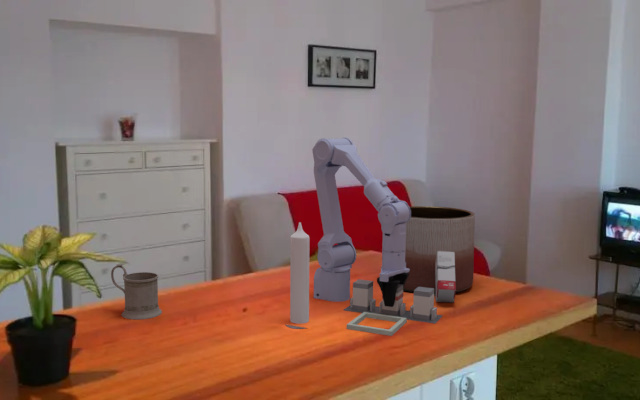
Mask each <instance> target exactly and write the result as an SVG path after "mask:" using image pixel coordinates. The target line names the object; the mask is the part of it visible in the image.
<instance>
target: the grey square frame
mask: <svg viewBox="0 0 640 400" xmlns="http://www.w3.org/2000/svg"><path fill="white" fill-rule="evenodd" d="M365 319H374V320H378V321H379V320H381V321H385V322H387V321H388V322H393V323H394V324H393V325H392V326H390V328H389V329H388V328H387V329H386V328H383V327H382V328H381V327H374V326H368V325H367V326H366V325H361V324H360V323H361V322H363V321H364V320H365ZM407 322H408V320H407V318H403V317H396V316H389V315H383V314H376V313H369V312H363V313H359V315H358V316H356V317H355V318H353V319H352V320H351V321H349V322H348V323H346V330H351V331H357V332H364V333H371V334H378V335H383V336H389V337H392V336H394V334H395V333H397V332H398V331H399V330H400V329H401V328H402V327H403V326H404V325H405V324H406V323H407Z"/></svg>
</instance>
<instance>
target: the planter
mask: <svg viewBox="0 0 640 400" xmlns="http://www.w3.org/2000/svg"><path fill="white" fill-rule="evenodd" d="M409 207H410V210H411V218H410V220H409V221H408V222H407V223H406V248H405V262H406V268H409V269H410V271H409V272H408V273H409V276H408V278H407V280H406V282H405V285H404V288H403V292H408V293H412V294H414V290H415V289H416V288H417V287H426V288H434V296H436V284H435V262H436V254H437V251H443V252H455V281H456V293H460V292H464V291H465V290H467V289H469V288H470V287H472V285H473V283H474V271H475V269H474V266H475V265H474V264H475V263H474V262H475V260H474V259H475V223H476V222H475V221H476V215H475V213H474V212H472V211H470V210H468V209H463V208H456V207H447V206H431V205H428V206H427V205H425V206H424V205H421V206H418V205H416V206H409ZM456 293H455V294H456Z"/></svg>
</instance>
